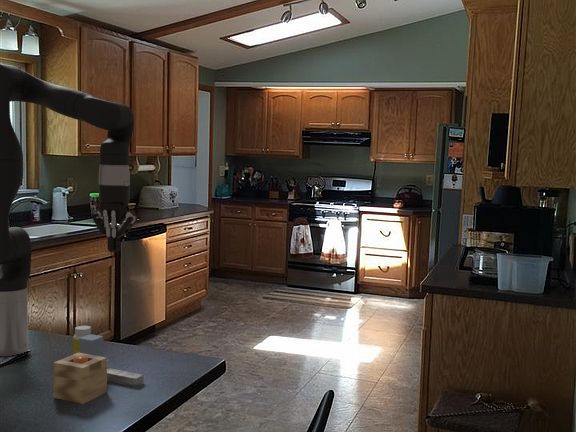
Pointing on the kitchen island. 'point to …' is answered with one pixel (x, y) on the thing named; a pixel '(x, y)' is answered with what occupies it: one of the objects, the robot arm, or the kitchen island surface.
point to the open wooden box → (80, 378)
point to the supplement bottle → (79, 336)
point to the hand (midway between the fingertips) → (114, 251)
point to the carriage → (92, 345)
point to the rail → (124, 377)
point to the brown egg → (80, 359)
